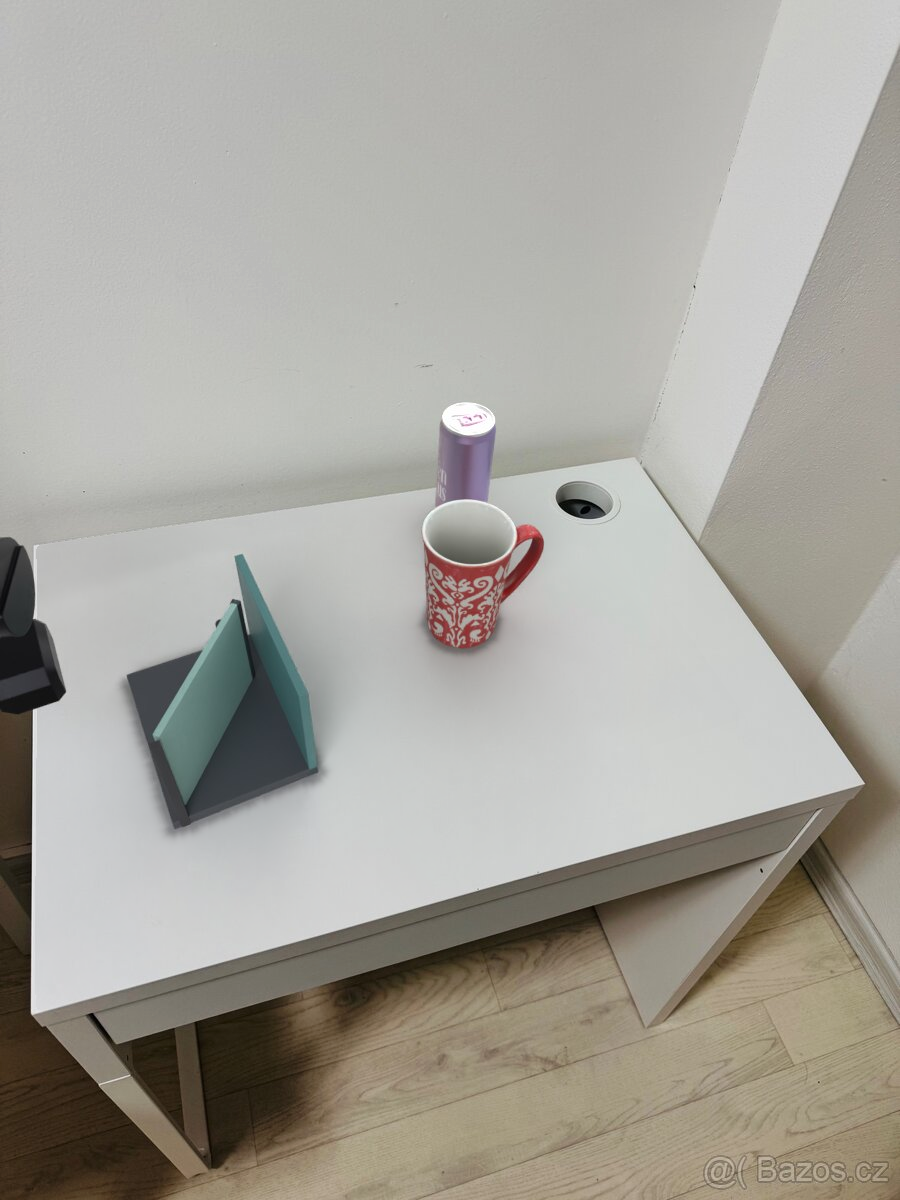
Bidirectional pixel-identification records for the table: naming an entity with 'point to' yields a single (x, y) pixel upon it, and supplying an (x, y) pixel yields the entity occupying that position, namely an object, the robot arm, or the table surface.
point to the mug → (472, 568)
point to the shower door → (207, 700)
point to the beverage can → (465, 453)
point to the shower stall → (237, 721)
